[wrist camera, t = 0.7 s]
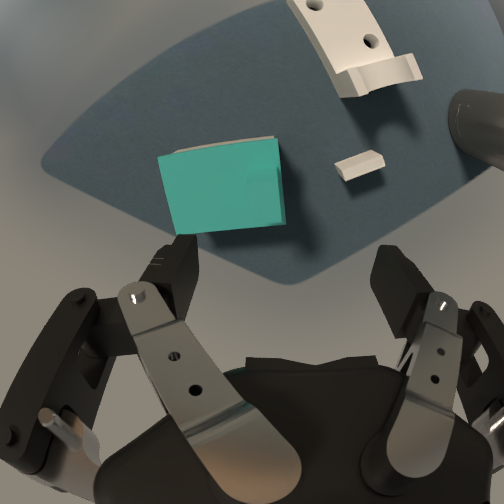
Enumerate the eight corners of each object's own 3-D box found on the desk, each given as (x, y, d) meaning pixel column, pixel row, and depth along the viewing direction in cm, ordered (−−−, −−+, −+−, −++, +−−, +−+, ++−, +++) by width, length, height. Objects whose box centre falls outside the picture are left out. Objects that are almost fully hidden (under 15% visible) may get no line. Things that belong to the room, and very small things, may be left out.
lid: (277, 137, 23) (278, 146, 19) (285, 222, 28) (288, 249, 23) (159, 156, 25) (134, 170, 20) (178, 232, 29) (160, 259, 24)
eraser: (333, 163, 29) (341, 170, 26) (370, 149, 28) (382, 155, 25) (337, 172, 30) (345, 181, 26) (374, 159, 28) (385, 166, 25)
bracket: (391, 81, 23) (423, 78, 17) (339, 97, 25) (359, 96, 19) (341, -11, 18) (358, -37, 11) (286, 3, 20) (289, -24, 13)
